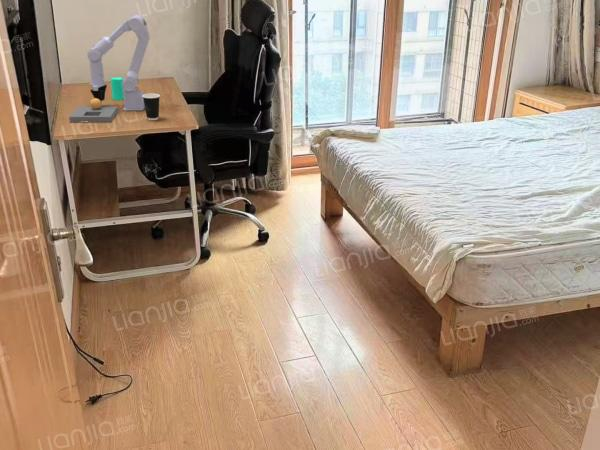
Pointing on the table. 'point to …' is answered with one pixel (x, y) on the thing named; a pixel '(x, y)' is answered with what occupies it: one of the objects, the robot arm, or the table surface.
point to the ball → (95, 103)
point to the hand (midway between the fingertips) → (100, 102)
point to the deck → (94, 114)
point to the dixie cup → (151, 105)
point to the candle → (117, 88)
